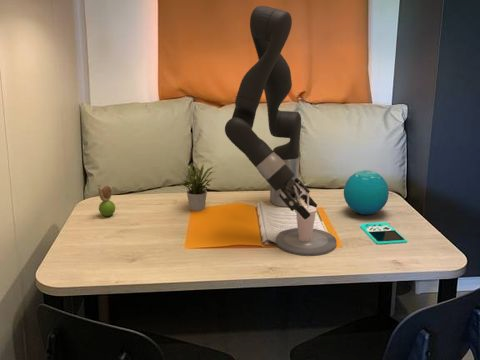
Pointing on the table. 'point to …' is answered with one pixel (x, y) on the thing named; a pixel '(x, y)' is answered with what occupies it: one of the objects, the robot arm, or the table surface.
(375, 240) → the handheld game console
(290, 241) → the dish
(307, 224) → the smoothie
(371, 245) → the table surface
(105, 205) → the snail figurine
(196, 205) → the house plant
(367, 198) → the decorative orb
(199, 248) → the table surface
